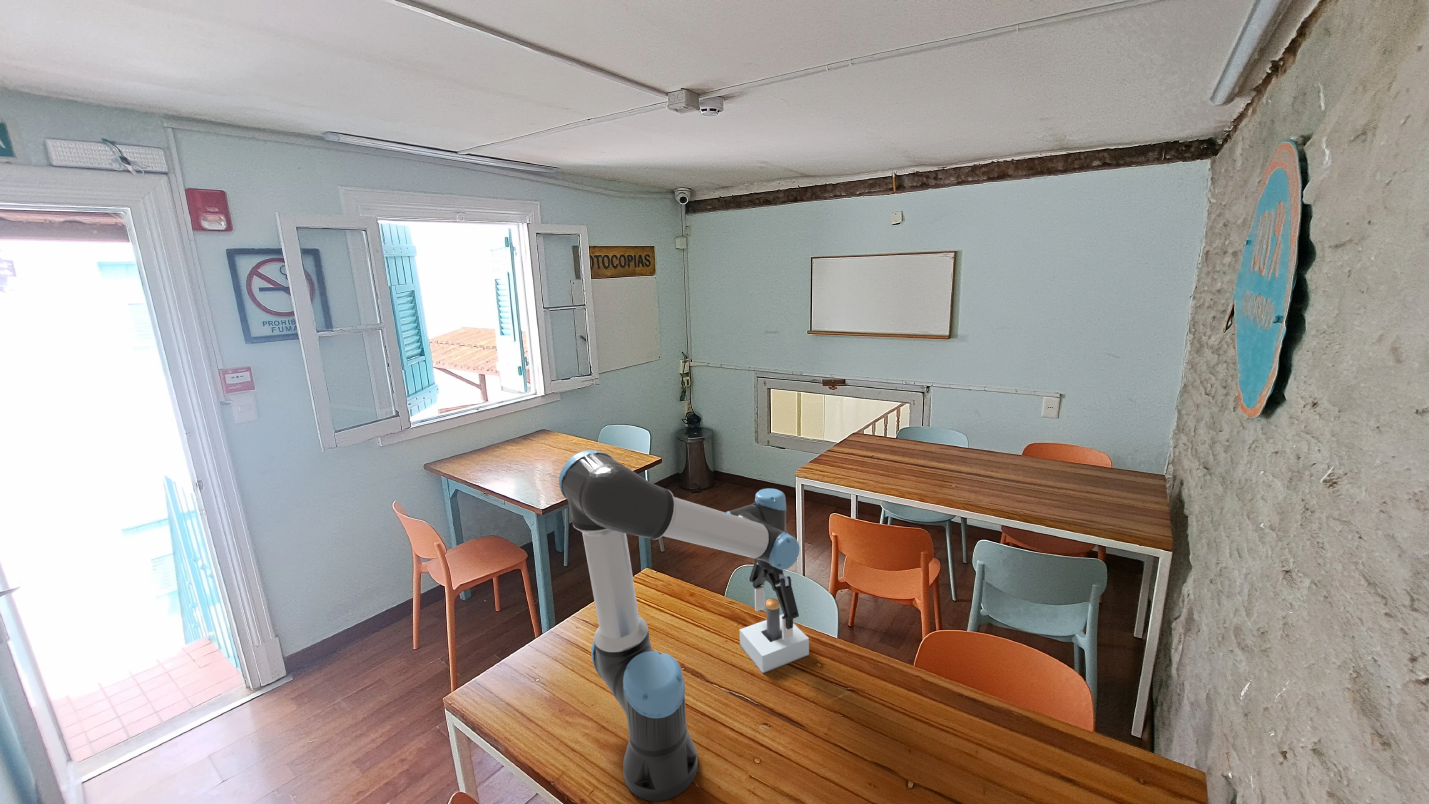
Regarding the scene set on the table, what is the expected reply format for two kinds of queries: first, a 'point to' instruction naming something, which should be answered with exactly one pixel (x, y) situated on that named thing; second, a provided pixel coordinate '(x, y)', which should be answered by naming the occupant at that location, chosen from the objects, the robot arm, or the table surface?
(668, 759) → the robot arm
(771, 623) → the marker
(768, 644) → the socket block
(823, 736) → the table surface
